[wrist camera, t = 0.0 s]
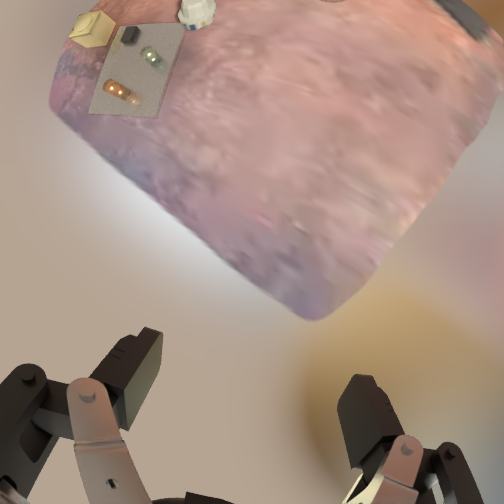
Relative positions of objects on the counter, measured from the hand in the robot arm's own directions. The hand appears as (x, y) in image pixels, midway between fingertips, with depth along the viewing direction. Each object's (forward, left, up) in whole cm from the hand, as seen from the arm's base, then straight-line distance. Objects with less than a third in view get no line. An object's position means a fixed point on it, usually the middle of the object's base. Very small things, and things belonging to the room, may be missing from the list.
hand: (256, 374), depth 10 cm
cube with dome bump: (-29, -37, -29) cm, 55 cm away
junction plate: (-21, -26, -29) cm, 44 cm away
